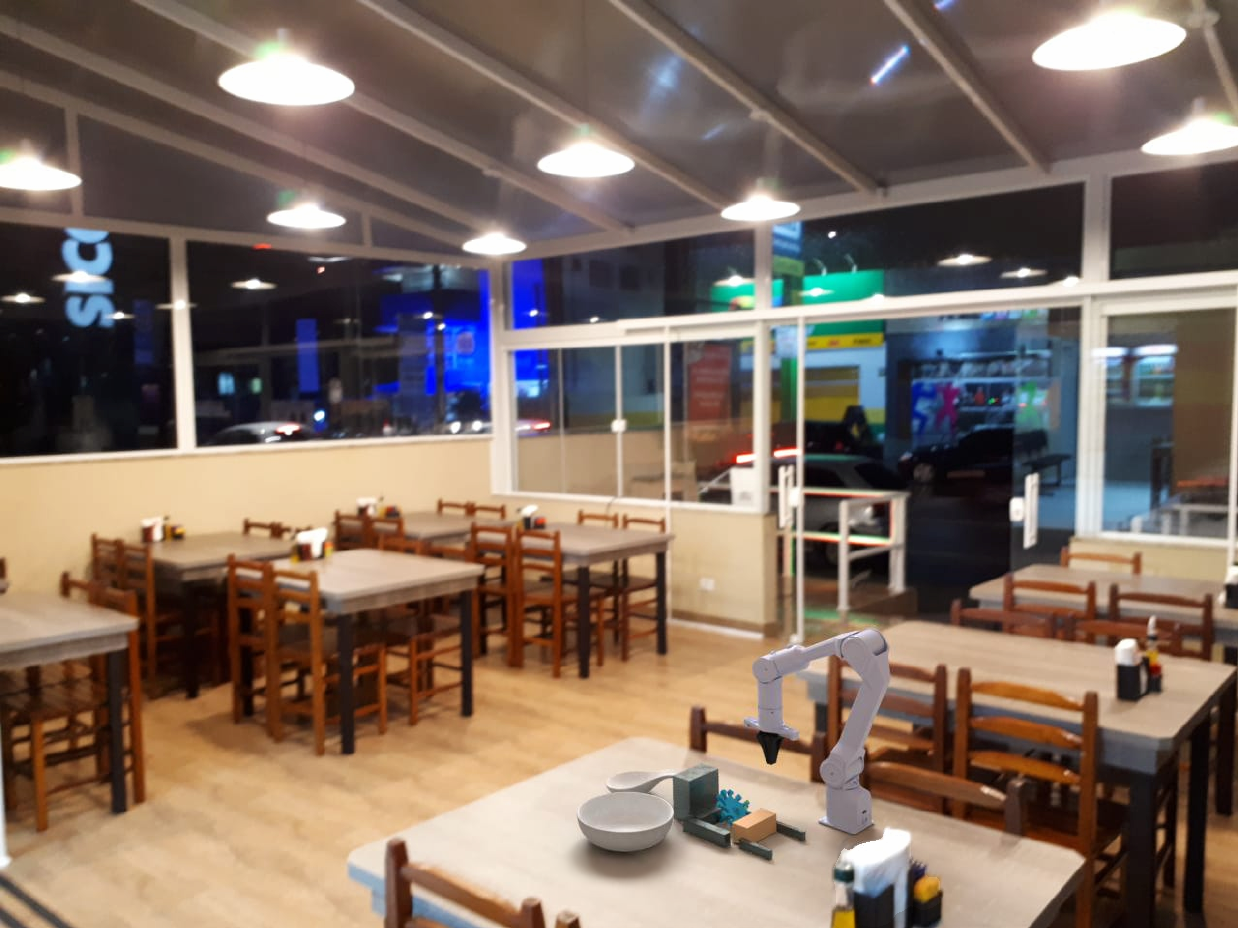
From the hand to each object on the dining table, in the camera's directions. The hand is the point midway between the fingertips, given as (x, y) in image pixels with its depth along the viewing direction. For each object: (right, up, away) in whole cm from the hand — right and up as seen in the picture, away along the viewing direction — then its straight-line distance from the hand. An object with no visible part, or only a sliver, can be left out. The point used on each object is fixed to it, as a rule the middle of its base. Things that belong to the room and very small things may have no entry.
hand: (771, 762), depth 223 cm
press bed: (-11, -11, -14) cm, 21 cm away
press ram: (-6, -11, -17) cm, 21 cm away
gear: (-10, -11, -11) cm, 18 cm away
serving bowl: (-34, -12, -17) cm, 40 cm away
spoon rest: (-27, -10, +6) cm, 30 cm away
